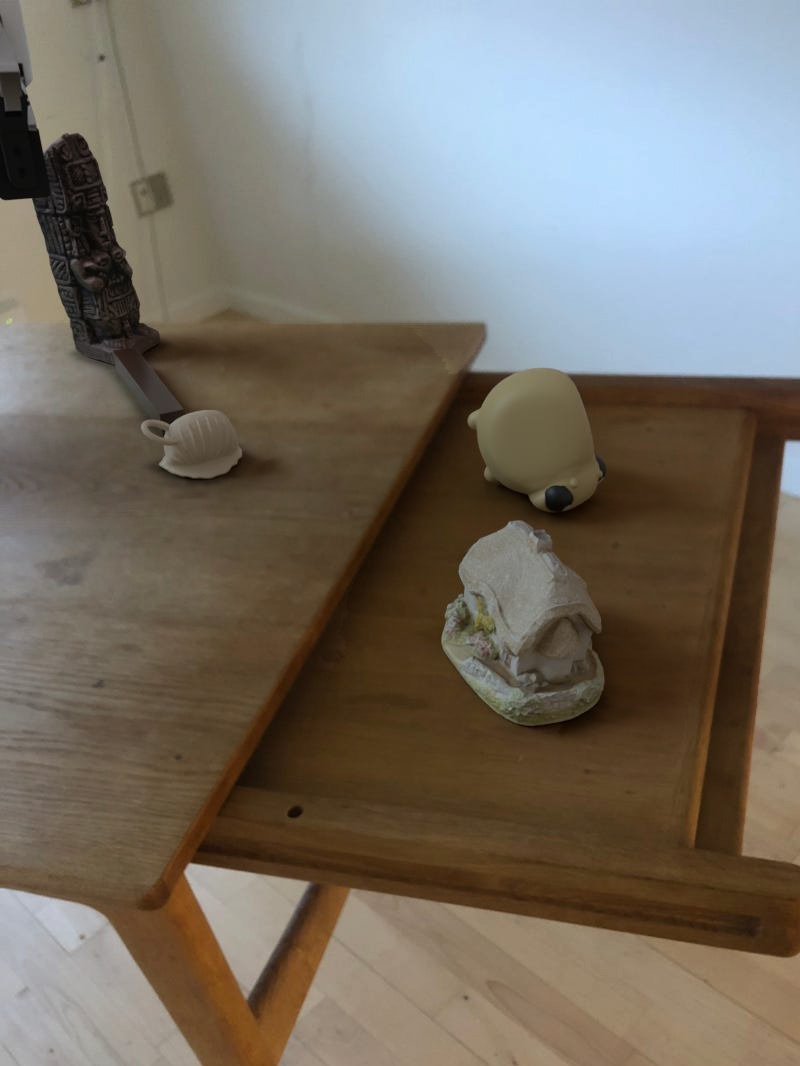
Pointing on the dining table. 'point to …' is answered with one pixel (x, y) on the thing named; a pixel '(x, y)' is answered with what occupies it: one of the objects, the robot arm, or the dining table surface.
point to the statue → (88, 255)
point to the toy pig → (539, 439)
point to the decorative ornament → (197, 444)
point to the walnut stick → (147, 387)
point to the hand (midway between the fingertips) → (8, 175)
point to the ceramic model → (524, 629)
